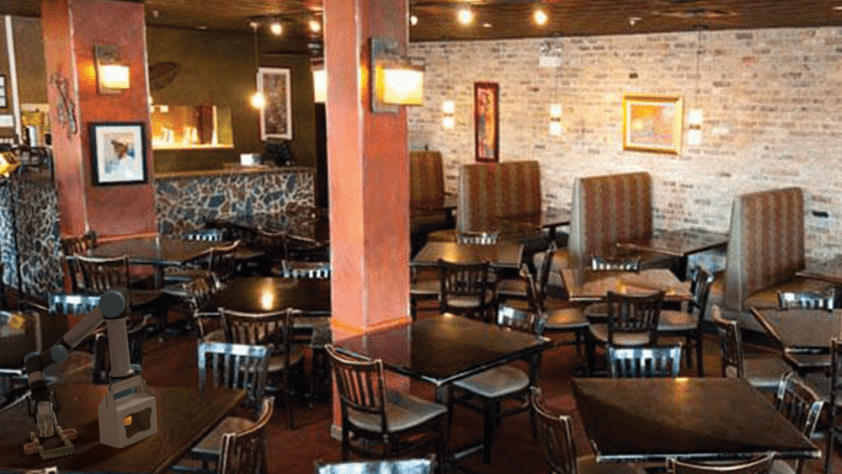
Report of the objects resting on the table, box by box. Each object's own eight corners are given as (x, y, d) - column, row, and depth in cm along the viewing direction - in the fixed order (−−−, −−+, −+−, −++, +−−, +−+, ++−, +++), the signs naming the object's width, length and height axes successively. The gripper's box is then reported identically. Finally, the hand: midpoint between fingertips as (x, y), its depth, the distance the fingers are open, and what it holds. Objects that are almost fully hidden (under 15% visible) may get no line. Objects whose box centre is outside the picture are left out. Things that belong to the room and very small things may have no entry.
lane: (30, 437, 386) (29, 429, 385) (60, 430, 393) (59, 423, 392) (42, 460, 360) (42, 452, 360) (74, 453, 368) (74, 445, 367)
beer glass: (49, 438, 382) (46, 406, 380) (35, 437, 383) (33, 406, 381) (58, 432, 389) (56, 401, 386) (45, 431, 390) (42, 400, 388)
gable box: (119, 449, 371) (115, 389, 367) (99, 443, 378) (95, 384, 374) (158, 432, 390) (154, 375, 386) (138, 427, 397) (135, 370, 393)
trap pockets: (20, 444, 377) (20, 439, 377) (74, 433, 390) (74, 428, 390) (26, 455, 366) (25, 449, 365) (81, 443, 378) (81, 437, 378)
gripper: (59, 383, 401) (69, 426, 390) (15, 391, 390) (24, 435, 379) (60, 375, 396) (71, 418, 385) (15, 383, 385) (25, 428, 374)
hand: (47, 427), depth 382 cm, fingers closed on beer glass, 6 cm apart
